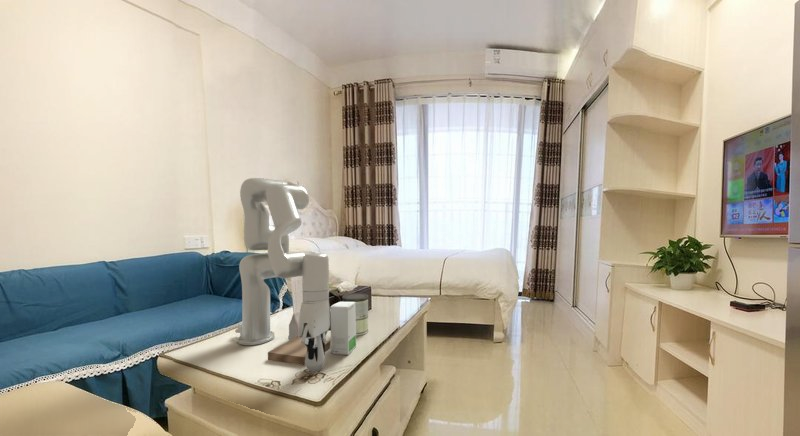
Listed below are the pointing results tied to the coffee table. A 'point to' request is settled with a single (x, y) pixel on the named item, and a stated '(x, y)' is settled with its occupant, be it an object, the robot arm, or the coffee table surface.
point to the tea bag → (294, 326)
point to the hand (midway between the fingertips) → (316, 357)
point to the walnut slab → (292, 352)
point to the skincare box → (343, 328)
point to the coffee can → (359, 311)
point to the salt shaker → (312, 364)
